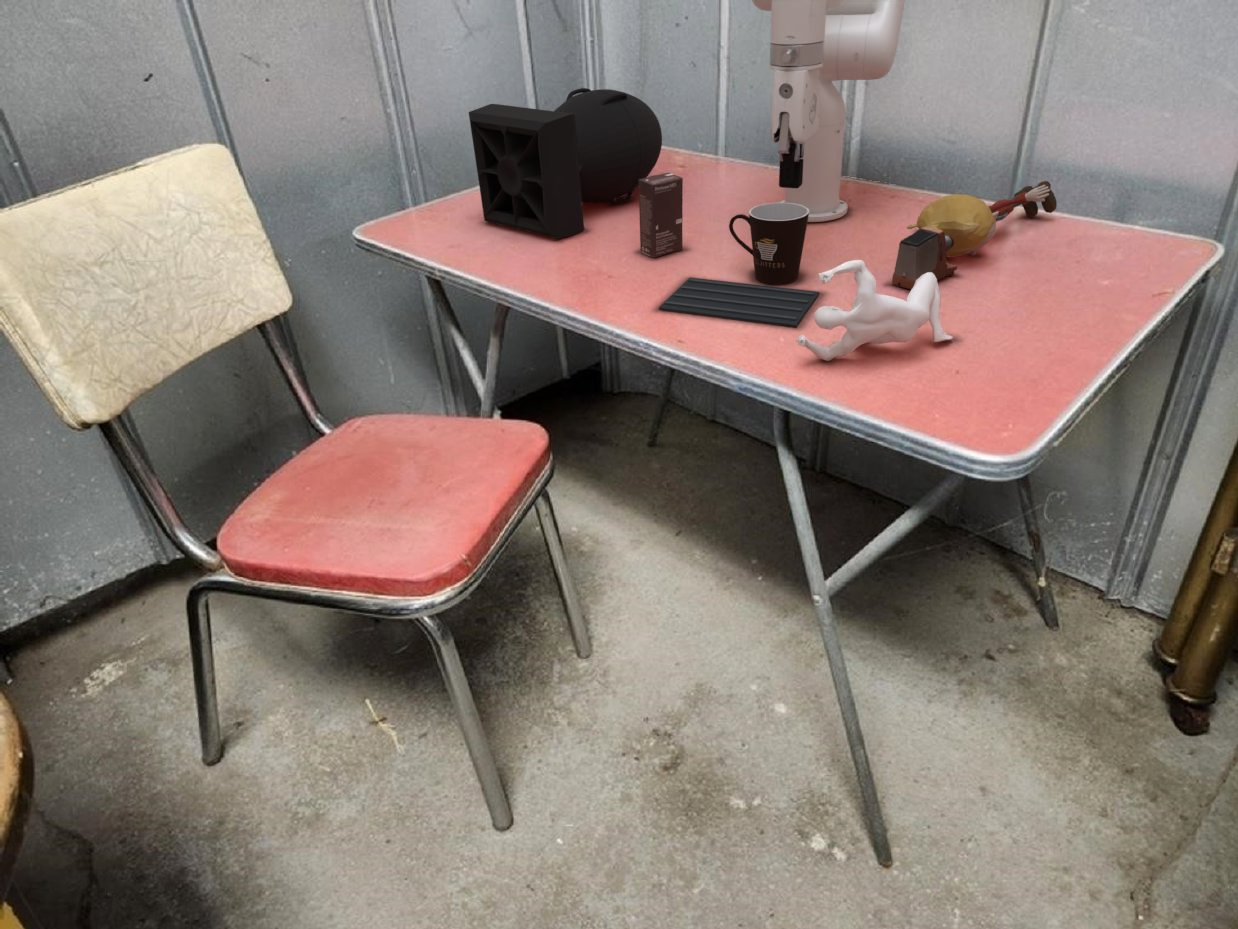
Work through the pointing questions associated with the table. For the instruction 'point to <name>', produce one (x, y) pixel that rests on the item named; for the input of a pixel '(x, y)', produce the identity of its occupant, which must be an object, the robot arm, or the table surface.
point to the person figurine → (877, 313)
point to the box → (660, 214)
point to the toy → (980, 216)
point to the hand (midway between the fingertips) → (790, 186)
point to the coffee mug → (775, 240)
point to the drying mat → (741, 301)
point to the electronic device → (922, 257)
